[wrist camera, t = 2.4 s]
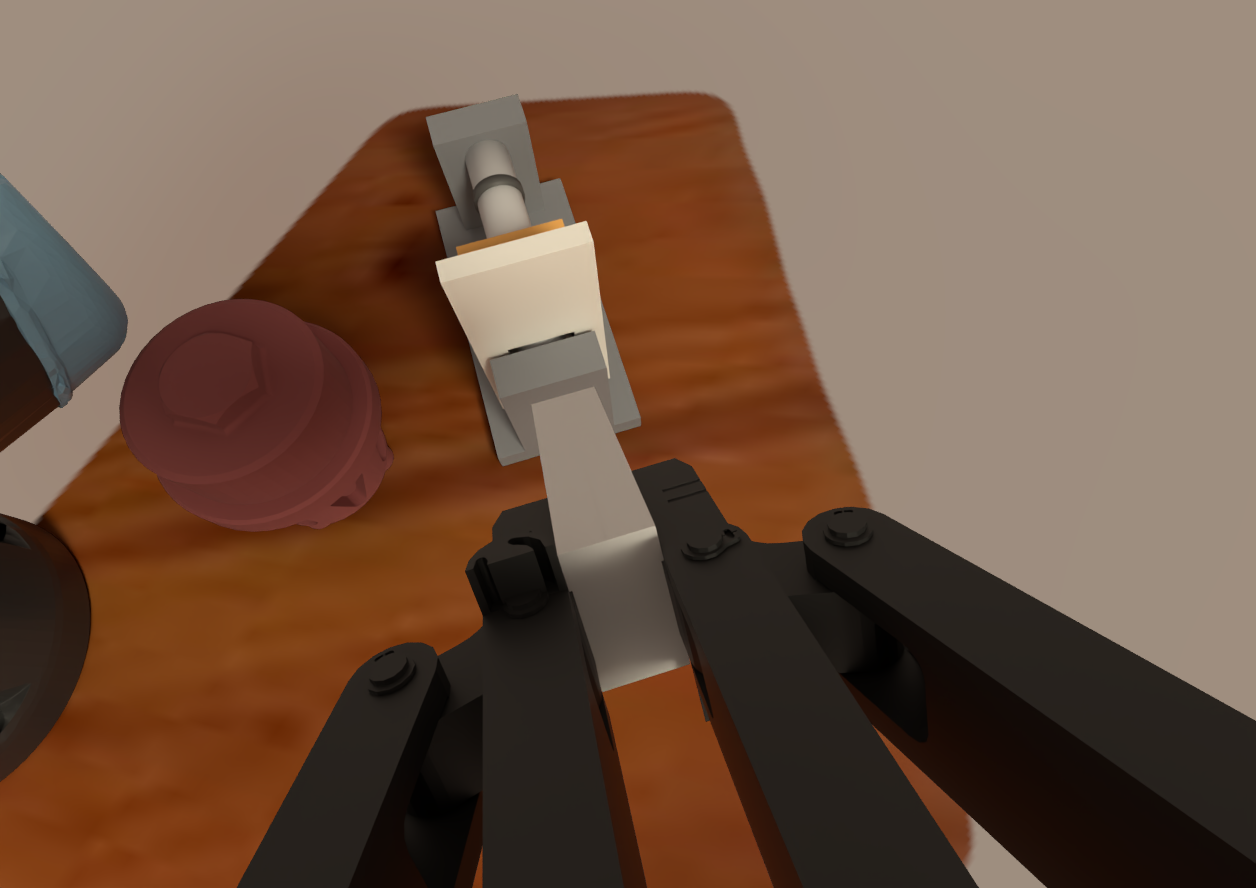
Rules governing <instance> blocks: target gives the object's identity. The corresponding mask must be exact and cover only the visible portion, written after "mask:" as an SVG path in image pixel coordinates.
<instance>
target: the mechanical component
mask: <svg viewBox="0 0 1256 888" xmlns="http://www.w3.org/2000/svg"><path fill="white" fill-rule="evenodd" d="M119 409H120V424H121V428H122V432H123V436H124V438H125V440H126V443H127V445H128V447H129V449H130V450H131V451H132V453H133V454H134V455H135V457H136V458H137V459H138V460H139V461H140V462H141V463H142V464H143V465H144V466H145V467H146V468H148V469H149V470H151V471H152V472H154V473H156V474H157V476H158V479H159V481H160V482H161V484H162V485H163V487H164V489H165V490H166V492H167V493H168V494H169V495H170V496H171V497H172V498H173V499H174V500H175V502H177V503H178V504H179V505H180V506H182V507H183V508H184V509H186V510H187V511H189V512H191V513H193V514H195V515H197V516H199V517H200V518H203V519H205V520H208V521H210V522H213V523H215V524H218V525H220V526H223V527H227V528H231V529H235V530H242V531H269V530H274V529H279V528H285V527H288V526H291V525H294V524H298V525H305V526H309V527H311V528H314V529H321V528H324V527H326V526H328V525H329V524H330V523H334V522H337V521H339V520H342V519H344V518H346V517H348V516H349V515H351V514H353V513H355V512H356V511H357V510H358V509H360V508H361V507H362V506H363V505H365V504H366V502H367V501H368V500H369V499H370V498H371V497H372V496H373V495H374V493H375V491H376V490H377V488H378V487H379V485H380V483H381V481H382V479H383V477H384V474H385V471H386V470H387V469H388V468H389V467H390V466H391V464H392V463H393V459H394V457H393V452H392V450H391V449H390V448H389V447H388V446H387V443H386V439H385V435H384V433H383V431H382V429H381V415H382V412H381V399H380V395H379V391H378V387H377V385H376V382H375V380H374V378H373V375H372V373H371V372H370V370H369V369H368V367H367V366H366V364H365V363H364V362H363V361H362V359H361V358H360V357H359V356H358V355H357V353H356V352H355V351H354V350H353V349H352V347H351V346H350V345H348V344H347V343H346V342H345V341H344V340H343V339H342V338H340V337H339V336H337V335H336V334H334V333H333V332H331V331H329V330H327V329H325V328H323V327H320V326H318V325H315V324H311V323H308V322H304V321H302V320H301V319H300V318H299V317H297V316H296V315H295V314H293V313H292V312H291V311H289V310H287V309H285V308H283V307H281V306H279V305H276V304H273V303H270V302H266V301H261V300H254V299H232V300H224V301H219V302H215V303H211V304H207V305H205V306H202V307H199V308H197V309H194V310H192V311H190V312H188V313H186V314H184V315H183V316H181V317H179V318H177V319H176V320H174V321H173V322H172V323H170V324H169V325H167V326H166V327H164V328H163V329H162V330H161V331H160V332H159V333H158V334H156V335H155V336H154V337H153V338H152V339H151V340H150V341H149V343H148V344H147V345H146V346H145V347H144V348H143V350H142V351H141V352H140V354H139V355H138V357H137V358H136V360H135V361H134V363H133V364H132V366H131V368H130V371H129V373H128V375H127V377H126V379H125V382H124V386H123V390H122V392H121V399H120V407H119Z"/></svg>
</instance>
